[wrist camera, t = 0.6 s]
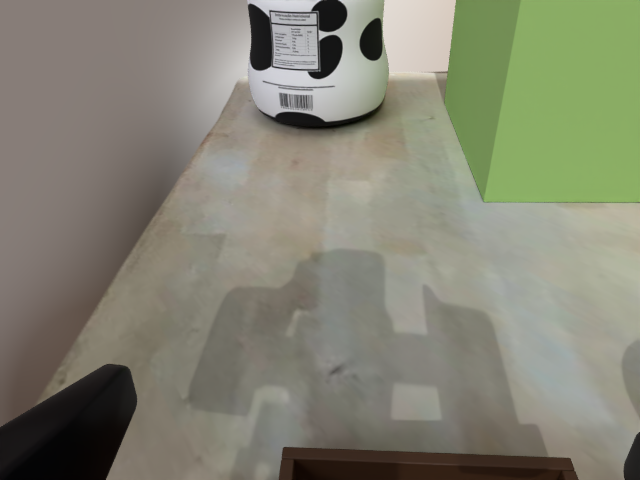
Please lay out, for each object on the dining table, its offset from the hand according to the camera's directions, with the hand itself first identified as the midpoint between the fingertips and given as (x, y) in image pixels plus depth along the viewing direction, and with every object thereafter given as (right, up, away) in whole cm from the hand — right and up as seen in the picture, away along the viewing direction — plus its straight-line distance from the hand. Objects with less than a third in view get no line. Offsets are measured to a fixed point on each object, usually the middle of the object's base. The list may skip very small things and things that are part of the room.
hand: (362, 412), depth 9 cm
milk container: (-1, +20, +56) cm, 59 cm away
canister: (+25, +14, +46) cm, 54 cm away
